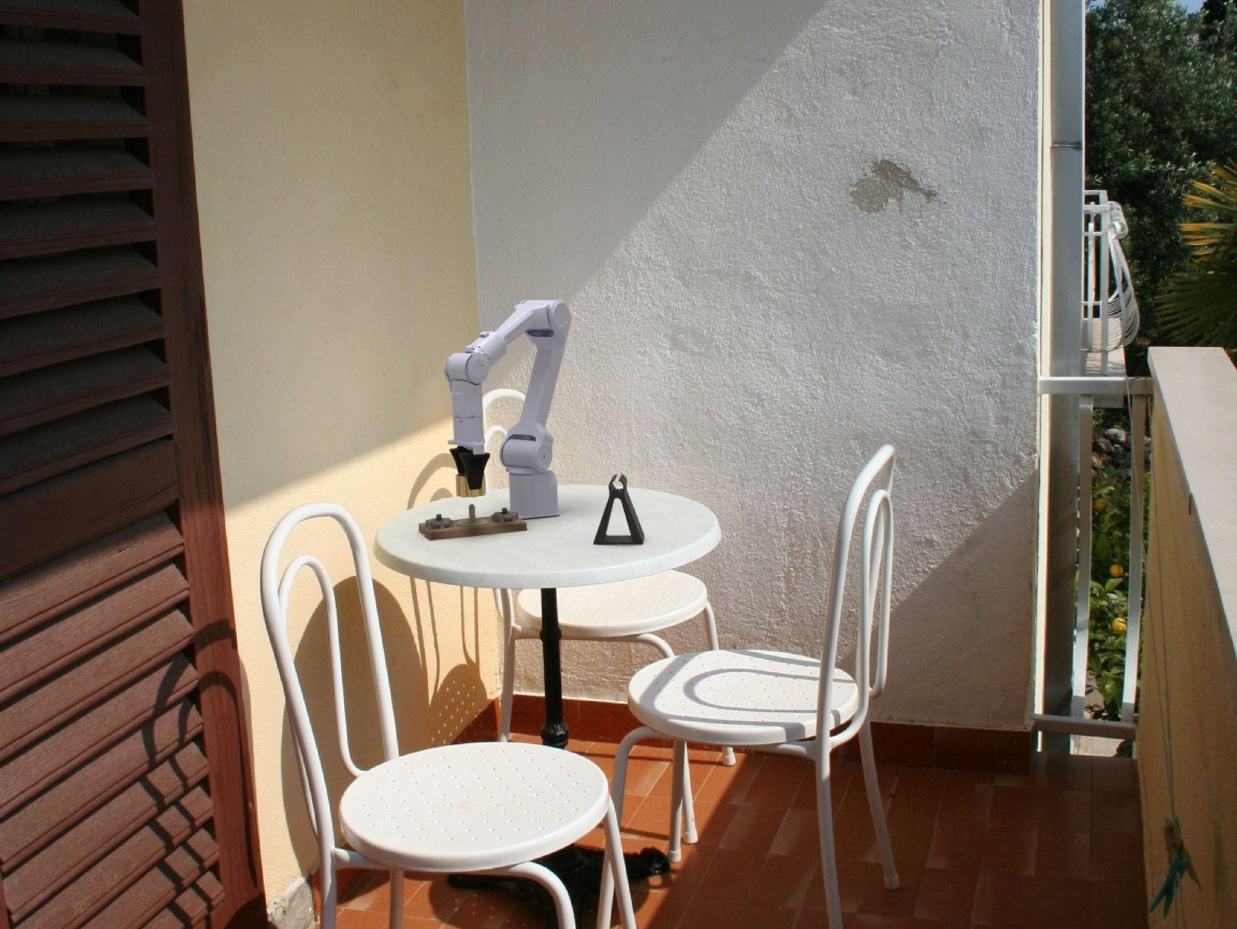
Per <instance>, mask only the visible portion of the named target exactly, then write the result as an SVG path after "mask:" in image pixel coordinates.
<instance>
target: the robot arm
mask: <svg viewBox="0 0 1237 929" xmlns="http://www.w3.org/2000/svg"><path fill="white" fill-rule="evenodd" d="M572 319H573V316H572V314H571V312H570V308H569V306H568V304H567V303H566V301H565V300H563V299H560V298H559V299H558V298H557V299H551V300H550V299H523V300H522V301H520V302H519V303H518V304H516V305H515V306H514V311H513V313H512V314H511V315H510V316H509V317H508V318H507V319H506V320H505V321H504V322H503V323H502V324H501V325H500V326H499V327H498V328H497V329H496V330H495V331H491V330H489V331H482V332H480V333H479V334H478V336H479V337H478V338H477V339H476V340H475V341H473V342H472V343H470V344H468V345H466V346H465V347H464V349H463V350H462V351H461V352H455V353H454V352H453V354H451V355H450V356H449V357H448V358H447V360H446V362H445V367H444V368H443V374H444V377H445V379H446V380H447V381H448V382H447V383H448V388H449V389H448V390H450V392H451V404H452V407H451V408H452V427H453V428H452V429H453V430H452V431H453V439H448V440H447V444H448V445H450V446H452V445H455V446H456V447H453V448H449V453H450V455H451V456H452V459H453V461H454V463H455V466H456V471H457V474H458V473H465V472H466V476H467V482H468V486H469V489H470V490H477V489H481V486H482V481H483V475H484V473H485V469H486V467H487V463H488V462H489V459H490V458H491V453H489V452H485V451H486V450H485V443H486V439H485V432H484V431H485V430H484V429H485V428H484V413H483V412H484V405H483V382H486V380H487V377H488V375H489V371H490V370H491V367H493V366H494V365H495V364H496V363H497V362H498V361H499V360H500V359H502V358H503V357H504V356H505V355H506V354H507V346H508V345H510V344H511V343H512V342H514V341H515V340H517V339H518V338H519V337H520V336H522V335H523V334H525V336H526V337H527V339H528V340H529V342H530V343H531V344H533V345H534V346H535V348H536V354H535V358H534V362H533V367H532V369H531V370H532V371H531V374H530V378H529V380H528V382H529V383H528V386H527V391H526V394H525V398H524V402H523V405H522V410H521V412H520V418H519V421H518V422H517V423H516V424H515V425H513V426H512V427H511V428H509V429H508V430H507V431H506V436H505V438H504V440H503V441H502V443H501V444H500V447H499V454H498V455H499V461H500V463H501V466H503V467H504V468H505V472H506V473H508V485H509V486H508V488H509V509H507V511H511V512H518V517H519V518H520V519H522V520H524V519H525V520H526V519H535V518H536V519H537V518H544V517H555V516H559V515H560V512H559V501H558V500H559V498H558V497H559V496H558V480H557V477H556V473H555V471H553V470H550V469H549V467H550V466H551V464H552V460H553V443H554V440H555V439H554V437H553V436H552V435H551V433H550V432H549V431H548V430H547V428H546V426H547V421H548V417H549V414H550V410H551V407H552V401H553V397H554V393H555V389H556V386H557V381H558V378H559V373H560V369H561V366H562V362H563V357H564V355H565V354H564V353H565V348H566V343H567V340H568V335H569V331H570V327H571V323H572ZM548 469H549V470H548Z"/></svg>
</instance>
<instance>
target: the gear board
mask: <svg viewBox="0 0 1237 929" xmlns="http://www.w3.org/2000/svg"><path fill="white" fill-rule="evenodd" d="M507 510H508V508H507V507H502V508H501V511H494V512H493V513H492V514H490V515H489V516H479V517H478V516H477V517H476V506H475V504H473V503H470V504H469V505H468V518H461V519H451V517H442V513H437V514H435V517H434V518H429V519H425V521H424V522H420V523H418V531H419V533H421V534H422V535H423V534H424V535H425V536H426V537H427V538H426V537H425V536H424V535H423V536H424V537H425V538H426V539H427V540H429V541H437V540H436V539H439V540H445V539H446V540H447V539H455V538H465V537H475V536H484V535H494V534H502V533H504V534H505V533H513V532H521V531H528V524H527V522H526V520H524V519H520V518H519V517H518V512H511V511H507Z"/></svg>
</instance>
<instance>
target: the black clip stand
mask: <svg viewBox="0 0 1237 929" xmlns="http://www.w3.org/2000/svg"><path fill="white" fill-rule="evenodd" d="M617 477H618V474H617V473H615V474H614V475H613V476H612V477H611V479H610V481H609V483H608V499H607V501H606V504H605V508H604V510H603V513H602V516H601V519H600V522H599V524H598V525H599V526H598V528H597V530H596V534H595V537H594V540H593V545H595V546H599V545H600V546H608V545H609V546H614V545H616V546H617V545H619V546H620V545H621V546H622V545H623V546H624V545H628V546H633V545H638V546H639V545H643V543H644V539H645V533H644V531H643V528H642V525H641V522H640V519H639V518H638V514H637V512H636V508H635V506H634V504H633V501H632V499H631V497H630V493H629V491H628V479H627V477H626V476H625V475H624V473H621V474H620V477H619V479H618V482H619V483H621V484H622V486H623V487H621V488H619V487H617V488H616V486H615V484H614V483H613V482H615V481H616V479H617ZM616 499H618V500H620V504H621V505H622V509H623V513H624V515H625V519H626V520H625V521H626V523H627V527H628V530H629V535H628V534H627V535H624V534H623V535H621V534H620V535H617V534H615V535H611V534H610V535H609V534H607V531H608V528H609V525H610V524H609V523H610V519H611V515H612V512H613V508H614V503H615V500H616Z"/></svg>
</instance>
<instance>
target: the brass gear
mask: <svg viewBox="0 0 1237 929" xmlns="http://www.w3.org/2000/svg"><path fill="white" fill-rule="evenodd" d="M454 476H455V491H456V492H455V494H456V495H455V496H456V497H458V498H459V497H460V498H465V499H466V498H471V499H473V498H478V497H484V496H486V495H487V485H486V484H487V482H486V473H485V472H484V475H483V481H482V486H481V489H477V490H470V489H469V486H468V482H467V476H466V472H465V473H458V472H457V473H456V474H455V475H454Z"/></svg>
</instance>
